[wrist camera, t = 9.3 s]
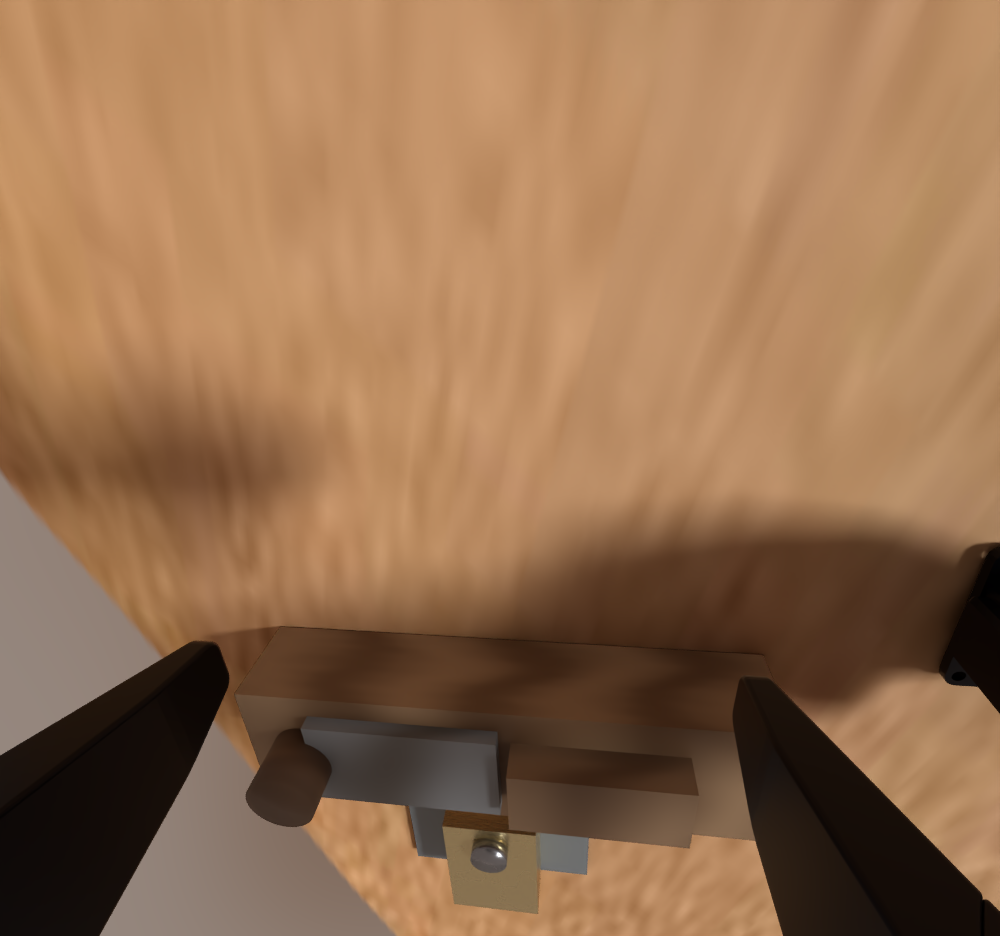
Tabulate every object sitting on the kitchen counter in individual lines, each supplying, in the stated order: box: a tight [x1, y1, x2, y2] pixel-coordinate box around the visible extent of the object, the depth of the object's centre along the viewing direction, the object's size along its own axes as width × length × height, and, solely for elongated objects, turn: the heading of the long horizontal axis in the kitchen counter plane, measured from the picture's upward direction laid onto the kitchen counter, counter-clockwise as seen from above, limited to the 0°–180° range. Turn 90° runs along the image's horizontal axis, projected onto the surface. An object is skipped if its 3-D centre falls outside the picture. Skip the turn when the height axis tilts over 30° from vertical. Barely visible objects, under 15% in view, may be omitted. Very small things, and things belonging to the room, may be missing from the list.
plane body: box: [234, 627, 774, 848], centre depth 23 cm, size 22×6×6 cm, turn 92°
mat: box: [409, 806, 589, 875], centre depth 31 cm, size 10×8×1 cm
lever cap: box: [442, 810, 541, 914], centre depth 29 cm, size 7×5×3 cm, turn 3°
